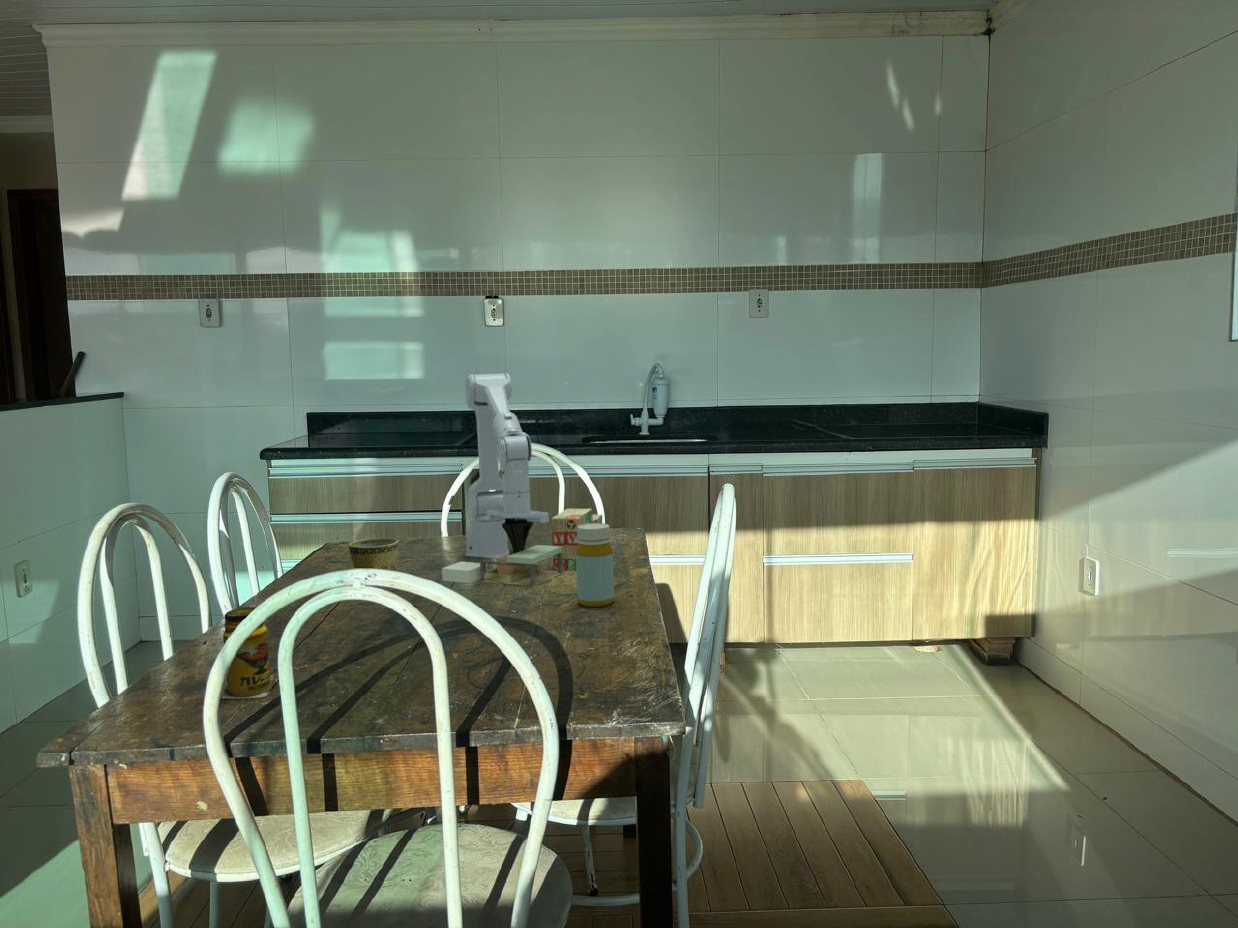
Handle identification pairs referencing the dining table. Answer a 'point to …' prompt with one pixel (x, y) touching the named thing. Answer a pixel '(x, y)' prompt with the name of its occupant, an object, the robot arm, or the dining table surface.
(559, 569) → the grey frame
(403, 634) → the dining table surface
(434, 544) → the dining table surface
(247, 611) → the condiment
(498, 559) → the block
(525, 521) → the robot arm
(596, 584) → the bottle
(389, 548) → the ceramic cup
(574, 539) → the stack of blocks
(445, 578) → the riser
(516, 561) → the lid
